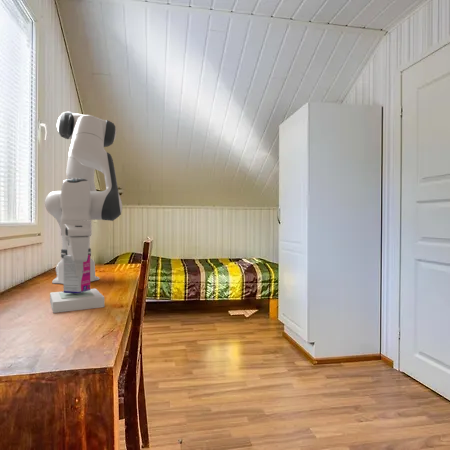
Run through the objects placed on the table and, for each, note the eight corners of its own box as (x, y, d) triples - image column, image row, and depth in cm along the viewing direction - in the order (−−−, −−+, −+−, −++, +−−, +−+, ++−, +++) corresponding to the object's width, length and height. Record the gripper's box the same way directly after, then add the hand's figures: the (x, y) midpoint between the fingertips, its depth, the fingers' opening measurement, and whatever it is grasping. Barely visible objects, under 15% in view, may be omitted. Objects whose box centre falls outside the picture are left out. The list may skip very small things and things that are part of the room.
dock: (49, 301, 115) (49, 291, 115) (95, 296, 121) (95, 287, 121) (52, 312, 100) (52, 301, 100) (104, 306, 107) (104, 296, 107)
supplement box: (79, 293, 107) (78, 256, 107) (63, 293, 108) (62, 255, 108) (91, 290, 112) (90, 254, 112) (75, 289, 114) (74, 253, 114)
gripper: (62, 229, 118) (62, 271, 118) (68, 230, 100) (69, 279, 100) (82, 229, 121) (83, 269, 121) (92, 230, 103) (92, 277, 103)
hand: (76, 274), depth 110 cm, fingers closed on supplement box, 8 cm apart
